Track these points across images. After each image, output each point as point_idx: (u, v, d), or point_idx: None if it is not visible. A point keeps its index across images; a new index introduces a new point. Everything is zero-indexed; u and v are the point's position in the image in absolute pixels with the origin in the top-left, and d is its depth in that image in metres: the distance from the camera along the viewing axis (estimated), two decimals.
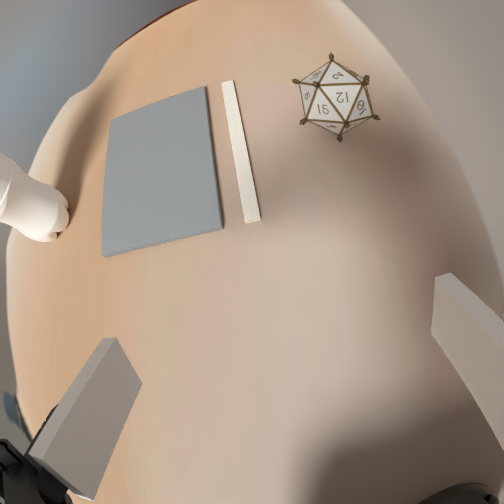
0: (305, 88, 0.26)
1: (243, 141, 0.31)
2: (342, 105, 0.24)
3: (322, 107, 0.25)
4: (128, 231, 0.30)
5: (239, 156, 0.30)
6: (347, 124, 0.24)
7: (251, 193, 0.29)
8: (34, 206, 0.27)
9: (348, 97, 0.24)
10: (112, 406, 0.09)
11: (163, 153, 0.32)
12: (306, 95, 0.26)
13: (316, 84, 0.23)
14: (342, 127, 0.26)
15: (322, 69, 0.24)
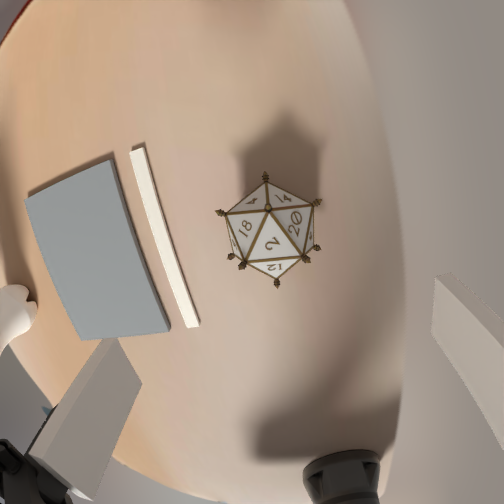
0: (232, 235, 0.24)
1: (170, 250, 0.30)
2: (273, 271, 0.24)
3: None
4: (94, 326, 0.33)
5: (169, 268, 0.30)
6: (277, 284, 0.26)
7: (188, 305, 0.32)
8: (11, 329, 0.28)
9: (281, 266, 0.23)
10: (112, 406, 0.09)
11: (94, 257, 0.30)
12: (233, 242, 0.24)
13: (243, 268, 0.22)
14: None
15: (254, 223, 0.22)
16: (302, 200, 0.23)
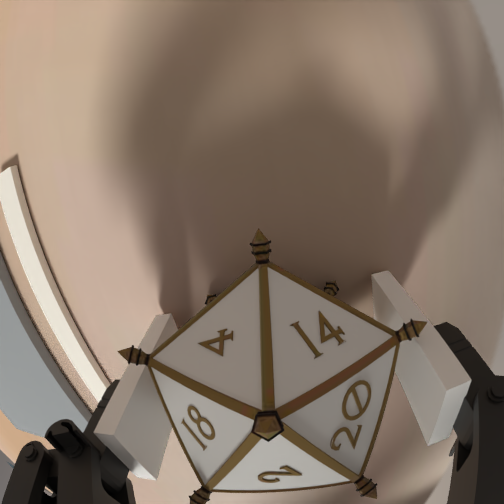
0: None
1: (85, 359, 0.14)
2: None
3: None
4: (24, 421, 0.17)
5: (92, 383, 0.14)
6: None
7: None
8: None
9: None
10: None
11: None
12: None
13: None
14: None
15: (221, 431, 0.06)
16: (372, 326, 0.07)
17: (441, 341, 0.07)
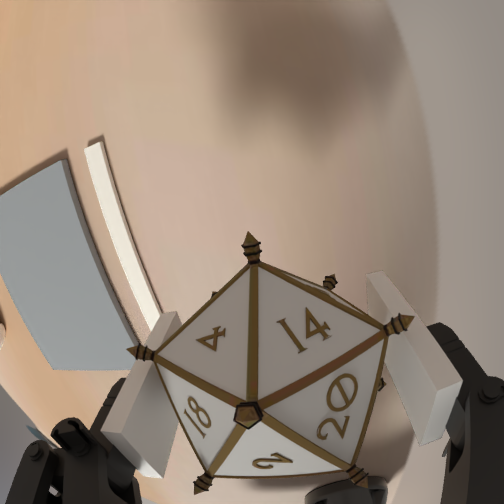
0: None
1: (141, 275, 0.22)
2: None
3: None
4: (64, 356, 0.26)
5: (141, 297, 0.23)
6: None
7: None
8: None
9: None
10: None
11: (54, 281, 0.23)
12: None
13: None
14: None
15: (215, 420, 0.06)
16: (359, 321, 0.08)
17: (433, 341, 0.07)
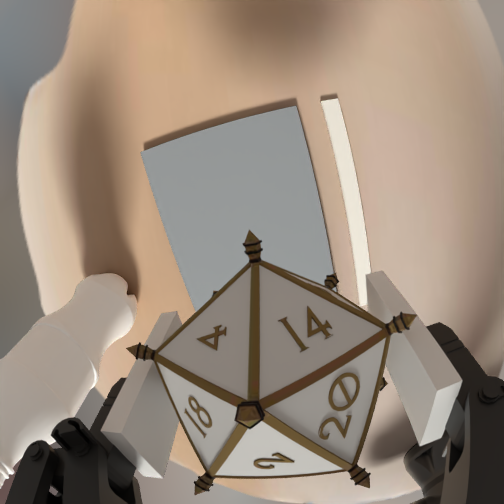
0: None
1: (361, 216, 0.26)
2: None
3: None
4: None
5: (357, 236, 0.26)
6: None
7: None
8: (110, 335, 0.24)
9: None
10: None
11: (259, 226, 0.26)
12: None
13: None
14: None
15: (216, 419, 0.06)
16: (361, 319, 0.08)
17: (433, 341, 0.07)
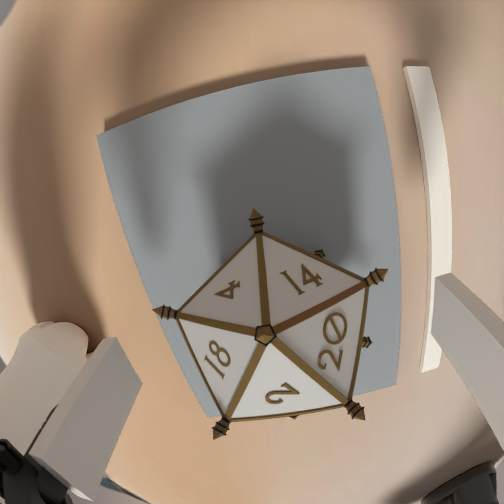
0: None
1: (449, 254, 0.15)
2: None
3: None
4: None
5: None
6: (294, 416, 0.12)
7: None
8: None
9: None
10: (112, 406, 0.09)
11: None
12: None
13: (222, 434, 0.09)
14: None
15: (235, 355, 0.09)
16: (344, 274, 0.10)
17: None
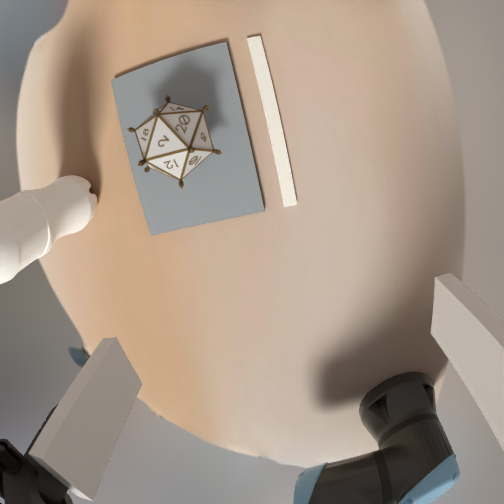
0: None
1: (279, 124, 0.30)
2: (173, 169, 0.26)
3: (156, 168, 0.27)
4: (174, 213, 0.34)
5: (276, 141, 0.31)
6: (181, 184, 0.28)
7: (289, 180, 0.32)
8: (69, 217, 0.28)
9: (177, 162, 0.26)
10: (112, 406, 0.09)
11: None
12: None
13: (141, 164, 0.24)
14: None
15: (149, 128, 0.24)
16: (194, 109, 0.25)
17: None
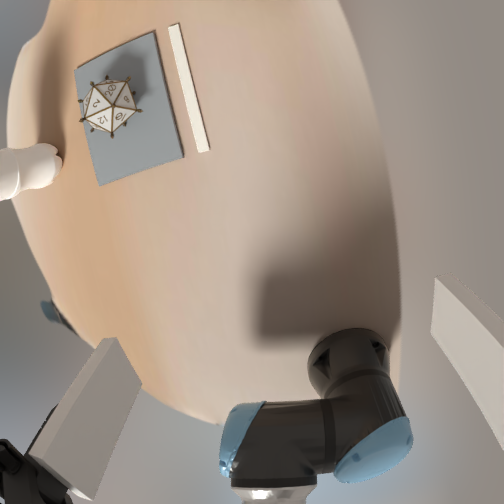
0: None
1: (192, 87, 0.35)
2: (105, 124, 0.31)
3: (95, 125, 0.32)
4: (115, 166, 0.39)
5: (189, 100, 0.36)
6: (111, 135, 0.33)
7: (201, 131, 0.37)
8: (37, 170, 0.34)
9: (106, 118, 0.31)
10: (112, 406, 0.09)
11: None
12: None
13: (82, 121, 0.29)
14: None
15: (89, 96, 0.29)
16: (121, 80, 0.30)
17: None
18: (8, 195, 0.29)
